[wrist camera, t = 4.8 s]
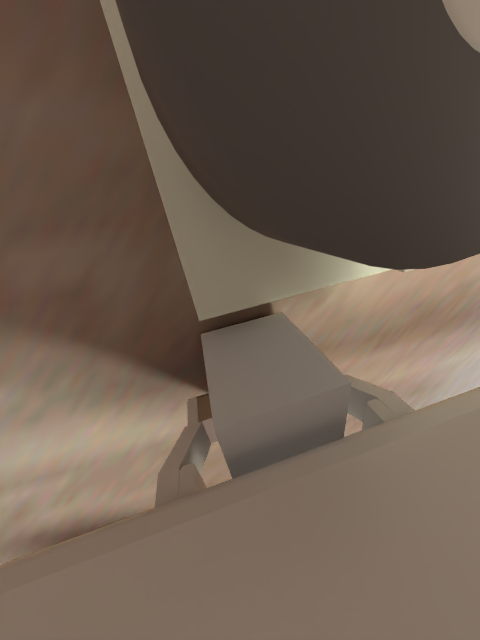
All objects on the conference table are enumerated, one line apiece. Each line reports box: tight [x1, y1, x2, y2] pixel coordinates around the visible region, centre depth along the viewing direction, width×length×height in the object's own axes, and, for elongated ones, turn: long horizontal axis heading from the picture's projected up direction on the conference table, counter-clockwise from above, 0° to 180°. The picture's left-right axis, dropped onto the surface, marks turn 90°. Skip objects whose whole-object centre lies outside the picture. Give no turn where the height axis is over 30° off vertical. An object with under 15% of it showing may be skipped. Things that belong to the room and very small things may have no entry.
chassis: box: [100, 0, 414, 321], centre depth 8 cm, size 22×14×4 cm, turn 100°
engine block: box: [201, 312, 351, 478], centre depth 11 cm, size 5×6×6 cm
